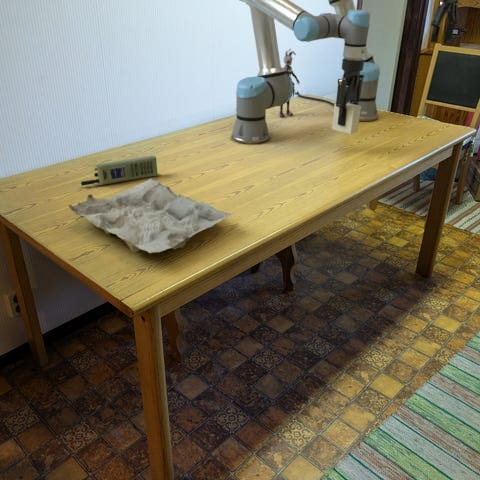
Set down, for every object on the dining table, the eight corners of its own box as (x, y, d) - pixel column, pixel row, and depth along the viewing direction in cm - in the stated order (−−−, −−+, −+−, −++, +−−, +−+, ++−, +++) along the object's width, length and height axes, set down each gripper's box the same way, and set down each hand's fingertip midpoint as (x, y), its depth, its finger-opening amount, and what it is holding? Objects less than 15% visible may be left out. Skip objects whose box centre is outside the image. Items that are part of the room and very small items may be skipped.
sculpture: (148, 192, 160) (63, 221, 139) (147, 174, 157) (60, 201, 136) (236, 233, 139) (152, 274, 118) (238, 213, 136) (151, 251, 115)
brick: (350, 134, 186) (354, 108, 182) (331, 129, 191) (334, 103, 187) (357, 131, 189) (361, 105, 184) (338, 126, 194) (341, 101, 190)
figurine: (278, 119, 230) (281, 50, 215) (269, 116, 234) (271, 48, 219) (300, 113, 239) (304, 46, 224) (290, 111, 243) (294, 44, 228)
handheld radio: (158, 176, 170) (83, 189, 160) (155, 173, 172) (80, 186, 162) (156, 157, 167) (79, 169, 157) (153, 154, 169) (77, 166, 159)
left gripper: (348, 63, 170) (340, 130, 181) (376, 57, 181) (366, 121, 192) (330, 59, 174) (323, 126, 186) (358, 54, 185) (350, 116, 197)
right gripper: (446, -11, 205) (435, 44, 216) (472, -13, 221) (461, 39, 231) (429, -12, 210) (419, 42, 220) (455, -14, 225) (445, 37, 236)
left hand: (345, 123), depth 189 cm, fingers closed on brick, 5 cm apart
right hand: (441, 41), depth 226 cm, fingers open, 13 cm apart
